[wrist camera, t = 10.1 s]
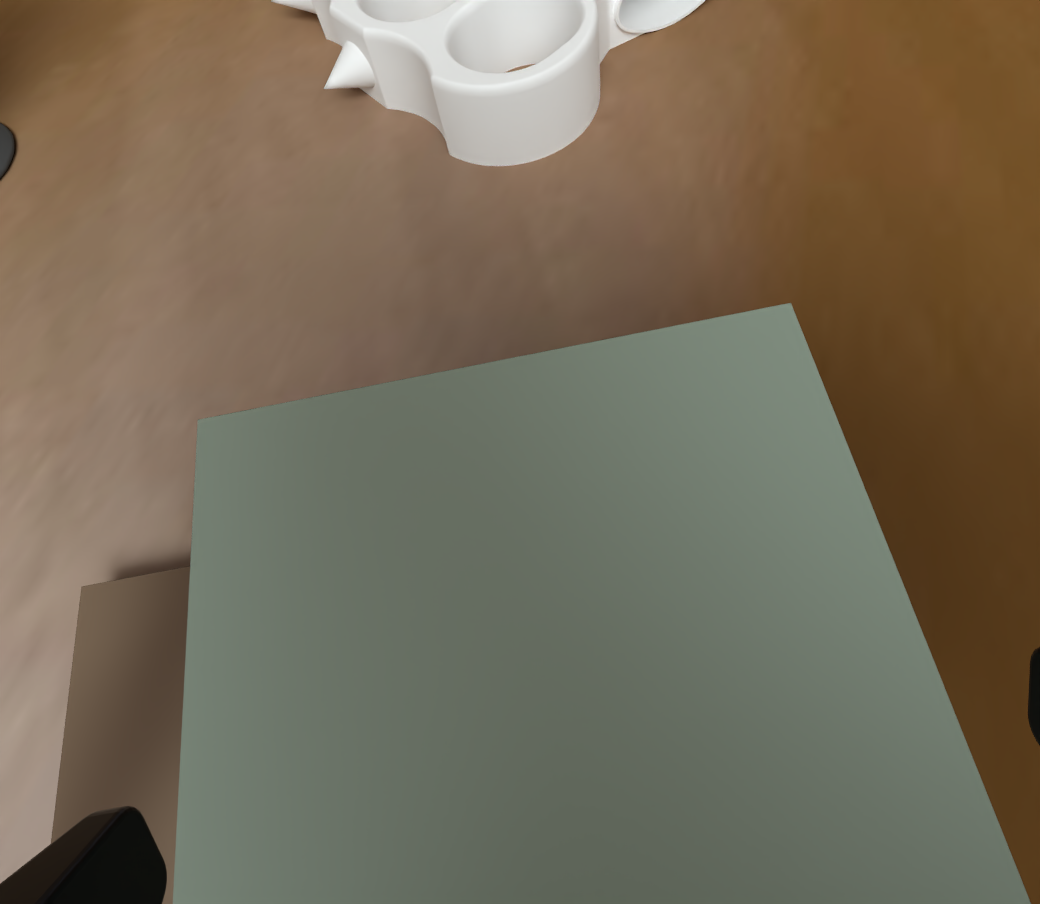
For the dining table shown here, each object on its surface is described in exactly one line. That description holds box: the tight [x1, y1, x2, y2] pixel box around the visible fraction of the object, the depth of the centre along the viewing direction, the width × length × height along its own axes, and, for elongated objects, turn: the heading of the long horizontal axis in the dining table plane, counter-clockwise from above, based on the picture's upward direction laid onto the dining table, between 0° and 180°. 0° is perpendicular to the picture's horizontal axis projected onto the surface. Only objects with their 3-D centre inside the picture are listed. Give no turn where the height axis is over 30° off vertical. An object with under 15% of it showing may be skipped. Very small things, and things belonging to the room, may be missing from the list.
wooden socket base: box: [51, 566, 190, 904], centre depth 14 cm, size 18×12×4 cm, turn 99°
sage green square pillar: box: [173, 303, 1031, 904], centre depth 9 cm, size 4×4×12 cm
